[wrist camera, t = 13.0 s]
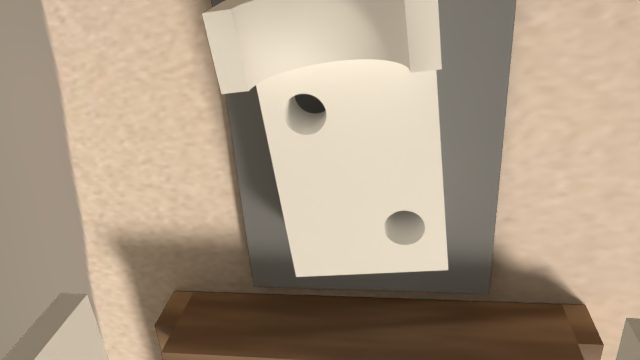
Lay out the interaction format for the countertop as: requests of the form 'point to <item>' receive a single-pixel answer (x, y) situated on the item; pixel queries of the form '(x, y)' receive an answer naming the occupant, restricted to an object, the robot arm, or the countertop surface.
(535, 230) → the countertop surface
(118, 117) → the countertop surface
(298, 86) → the bracket
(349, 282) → the charcoal mat
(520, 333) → the walnut rack
